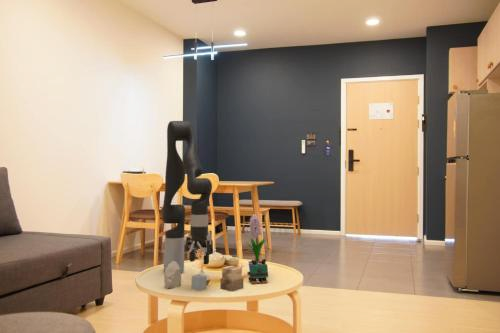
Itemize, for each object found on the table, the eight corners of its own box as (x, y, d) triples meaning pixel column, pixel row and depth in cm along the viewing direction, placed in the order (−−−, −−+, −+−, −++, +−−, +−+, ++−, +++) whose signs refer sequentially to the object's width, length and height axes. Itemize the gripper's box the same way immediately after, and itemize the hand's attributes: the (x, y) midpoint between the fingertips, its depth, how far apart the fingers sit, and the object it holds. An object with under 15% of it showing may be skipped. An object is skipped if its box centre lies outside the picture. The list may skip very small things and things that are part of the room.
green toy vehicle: (263, 257, 207) (269, 259, 197) (263, 280, 206) (270, 283, 196) (244, 258, 204) (250, 260, 195) (245, 281, 203) (251, 284, 194)
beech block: (222, 278, 189) (222, 267, 189) (231, 275, 193) (231, 265, 193) (232, 280, 185) (232, 270, 185) (241, 278, 189) (241, 267, 189)
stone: (170, 289, 186) (170, 265, 186) (161, 288, 188) (161, 263, 188) (183, 284, 194) (183, 260, 194) (175, 283, 196) (175, 259, 196)
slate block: (191, 289, 187) (191, 276, 187) (199, 286, 191) (199, 274, 191) (198, 291, 184) (198, 278, 184) (206, 288, 188) (206, 276, 188)
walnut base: (220, 288, 189) (220, 278, 188) (231, 285, 194) (231, 275, 194) (232, 292, 184) (232, 281, 184) (243, 288, 189) (243, 278, 189)
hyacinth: (272, 276, 209) (271, 213, 209) (257, 280, 201) (257, 215, 201) (258, 273, 215) (258, 212, 215) (243, 277, 207) (243, 213, 207)
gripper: (181, 224, 189) (181, 261, 189) (204, 227, 180) (204, 266, 180) (194, 222, 195) (194, 259, 195) (217, 225, 186) (217, 263, 186)
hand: (199, 262), depth 187 cm, fingers open, 8 cm apart
